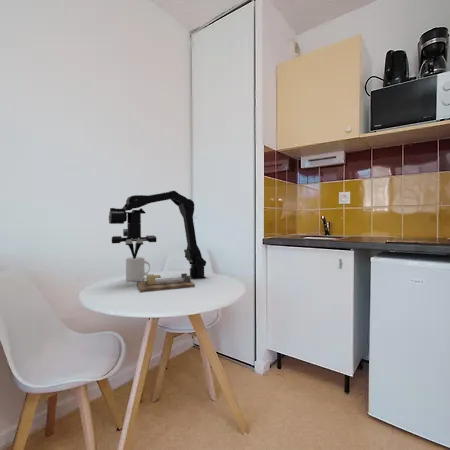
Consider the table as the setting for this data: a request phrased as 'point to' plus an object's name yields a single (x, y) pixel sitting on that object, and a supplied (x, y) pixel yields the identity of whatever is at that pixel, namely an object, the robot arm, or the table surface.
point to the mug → (136, 268)
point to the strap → (169, 280)
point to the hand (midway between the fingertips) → (134, 258)
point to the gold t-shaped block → (152, 278)
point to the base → (165, 285)
